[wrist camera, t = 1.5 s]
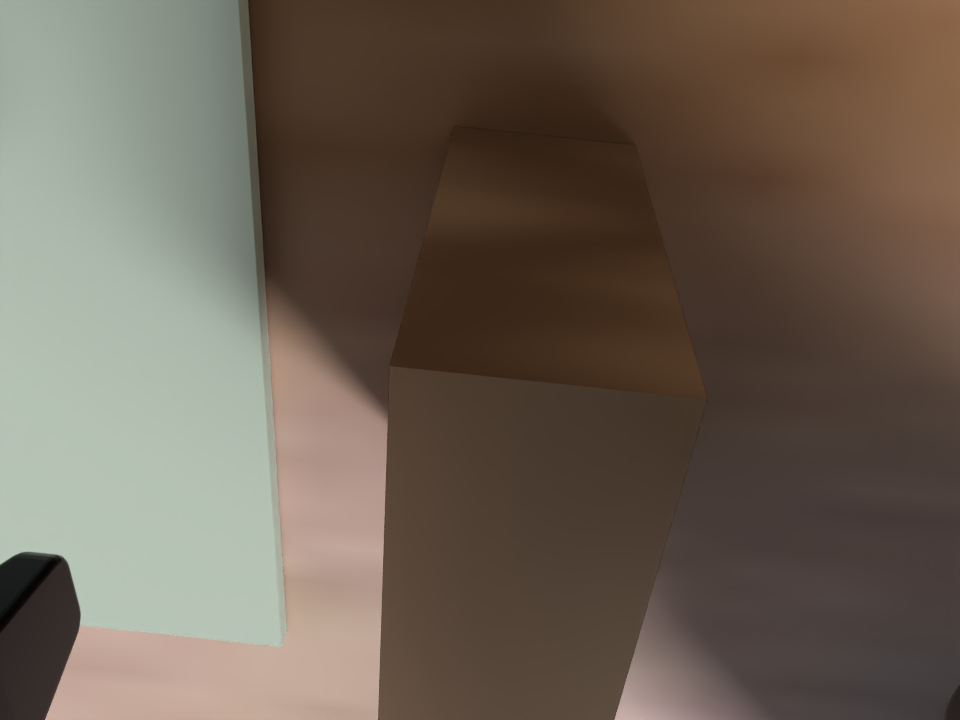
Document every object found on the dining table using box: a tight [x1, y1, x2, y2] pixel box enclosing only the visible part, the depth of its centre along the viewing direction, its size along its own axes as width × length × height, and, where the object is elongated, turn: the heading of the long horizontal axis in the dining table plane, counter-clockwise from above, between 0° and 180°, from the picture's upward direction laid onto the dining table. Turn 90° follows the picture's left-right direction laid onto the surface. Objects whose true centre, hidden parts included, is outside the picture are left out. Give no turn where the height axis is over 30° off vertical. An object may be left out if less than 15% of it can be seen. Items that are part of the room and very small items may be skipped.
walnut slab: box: [378, 126, 708, 720], centre depth 11 cm, size 2×6×6 cm, turn 175°
